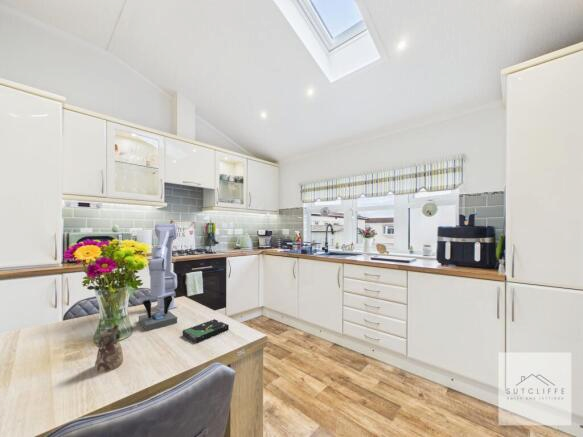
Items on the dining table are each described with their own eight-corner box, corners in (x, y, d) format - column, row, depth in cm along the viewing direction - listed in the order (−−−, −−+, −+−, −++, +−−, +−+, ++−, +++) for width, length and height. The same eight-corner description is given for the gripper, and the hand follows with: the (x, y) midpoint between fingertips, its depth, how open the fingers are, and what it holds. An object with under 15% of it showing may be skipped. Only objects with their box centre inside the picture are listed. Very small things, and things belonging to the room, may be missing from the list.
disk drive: (214, 325, 111) (181, 337, 99) (214, 318, 111) (181, 330, 99) (229, 331, 104) (196, 344, 92) (229, 324, 104) (196, 337, 93)
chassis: (138, 321, 114) (138, 315, 114) (167, 314, 122) (167, 309, 122) (146, 331, 103) (146, 325, 104) (177, 323, 112) (177, 317, 112)
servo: (151, 321, 114) (151, 310, 114) (158, 319, 116) (158, 309, 116) (156, 326, 108) (156, 315, 109) (164, 324, 111) (164, 313, 111)
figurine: (90, 368, 77) (90, 329, 77) (115, 357, 83) (115, 321, 84) (102, 375, 74) (102, 333, 74) (127, 363, 80) (127, 325, 80)
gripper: (141, 289, 105) (141, 322, 105) (177, 283, 115) (177, 313, 115) (137, 286, 110) (137, 317, 110) (172, 281, 120) (172, 309, 120)
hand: (157, 315), depth 113 cm, fingers open, 6 cm apart
